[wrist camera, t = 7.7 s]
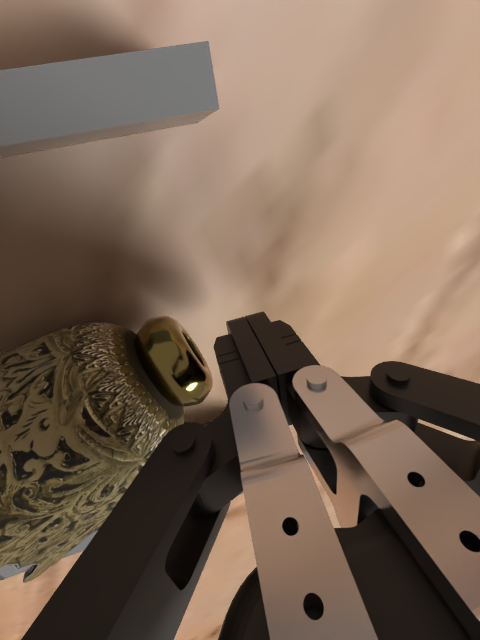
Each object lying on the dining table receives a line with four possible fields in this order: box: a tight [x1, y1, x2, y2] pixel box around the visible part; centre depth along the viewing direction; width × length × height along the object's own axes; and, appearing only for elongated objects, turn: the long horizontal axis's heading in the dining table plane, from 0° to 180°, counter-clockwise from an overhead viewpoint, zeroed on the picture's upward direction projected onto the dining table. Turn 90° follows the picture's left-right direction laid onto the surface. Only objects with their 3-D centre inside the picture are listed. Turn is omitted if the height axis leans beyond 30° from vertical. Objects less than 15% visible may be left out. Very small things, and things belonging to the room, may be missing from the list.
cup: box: [0, 316, 213, 583], centre depth 11 cm, size 8×7×8 cm
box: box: [0, 41, 244, 580], centre depth 12 cm, size 17×15×4 cm
